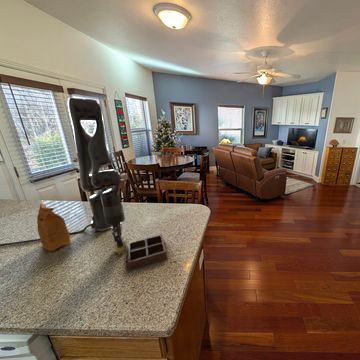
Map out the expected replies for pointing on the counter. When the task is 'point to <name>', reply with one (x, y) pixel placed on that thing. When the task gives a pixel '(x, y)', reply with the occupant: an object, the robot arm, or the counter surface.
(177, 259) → the counter surface
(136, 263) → the grid
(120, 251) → the supplement bottle
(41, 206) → the coffee package
